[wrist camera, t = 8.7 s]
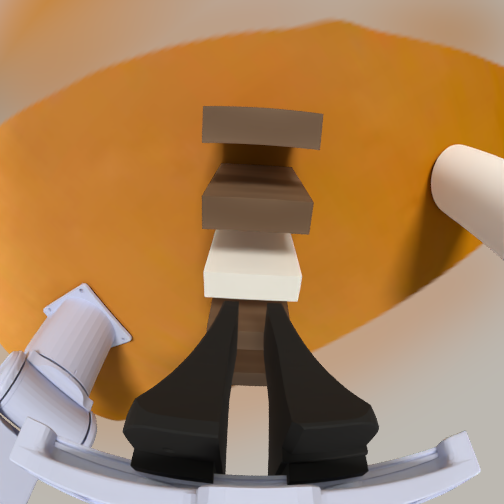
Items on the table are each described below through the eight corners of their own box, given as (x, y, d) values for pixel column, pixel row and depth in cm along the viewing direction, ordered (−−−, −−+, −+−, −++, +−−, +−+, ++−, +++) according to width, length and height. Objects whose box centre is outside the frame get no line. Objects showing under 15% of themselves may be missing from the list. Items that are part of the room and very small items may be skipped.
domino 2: (289, 188, 20) (308, 234, 13) (220, 184, 20) (202, 228, 13) (291, 167, 20) (313, 202, 13) (221, 163, 19) (201, 196, 12)
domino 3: (284, 237, 22) (297, 301, 15) (220, 233, 22) (204, 296, 15) (286, 218, 21) (302, 276, 14) (220, 214, 21) (203, 271, 14)
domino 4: (279, 280, 24) (287, 350, 17) (220, 277, 24) (208, 347, 17) (281, 264, 23) (291, 332, 16) (220, 261, 23) (206, 329, 16)
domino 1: (294, 134, 18) (319, 149, 11) (222, 130, 18) (201, 142, 11) (296, 112, 18) (323, 114, 11) (223, 108, 18) (203, 106, 11)
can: (481, 200, 20) (567, 263, 9) (433, 223, 21) (519, 304, 11) (473, 136, 17) (578, 177, 7) (421, 154, 19) (532, 208, 8)
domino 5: (274, 316, 26) (279, 386, 19) (220, 313, 26) (210, 383, 19) (276, 302, 25) (282, 373, 18) (220, 299, 25) (209, 370, 18)
